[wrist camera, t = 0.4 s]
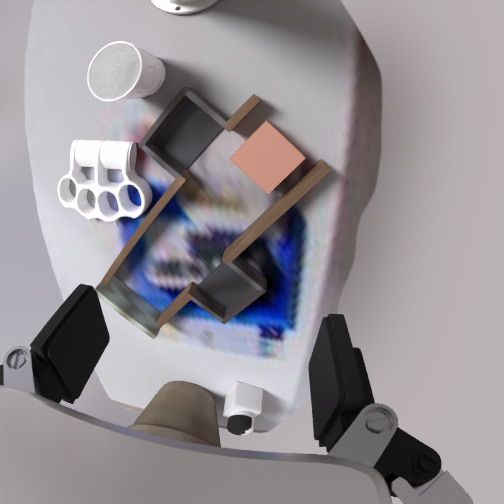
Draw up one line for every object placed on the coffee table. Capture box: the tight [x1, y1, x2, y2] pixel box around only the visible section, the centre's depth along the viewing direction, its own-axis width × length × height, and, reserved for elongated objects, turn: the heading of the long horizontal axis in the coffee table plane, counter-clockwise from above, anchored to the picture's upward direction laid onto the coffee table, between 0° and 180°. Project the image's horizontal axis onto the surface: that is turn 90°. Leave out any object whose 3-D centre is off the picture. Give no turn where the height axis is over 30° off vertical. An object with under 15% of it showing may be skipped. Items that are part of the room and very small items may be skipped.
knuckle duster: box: [58, 139, 152, 227], centre depth 42 cm, size 3×18×15 cm
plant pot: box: [127, 381, 221, 447], centre depth 60 cm, size 25×25×22 cm
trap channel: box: [95, 87, 331, 339], centre depth 43 cm, size 30×42×6 cm
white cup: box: [87, 41, 166, 101], centre depth 30 cm, size 8×8×10 cm
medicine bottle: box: [223, 381, 263, 435], centre depth 61 cm, size 7×7×12 cm
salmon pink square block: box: [229, 120, 305, 194], centre depth 38 cm, size 7×7×4 cm
